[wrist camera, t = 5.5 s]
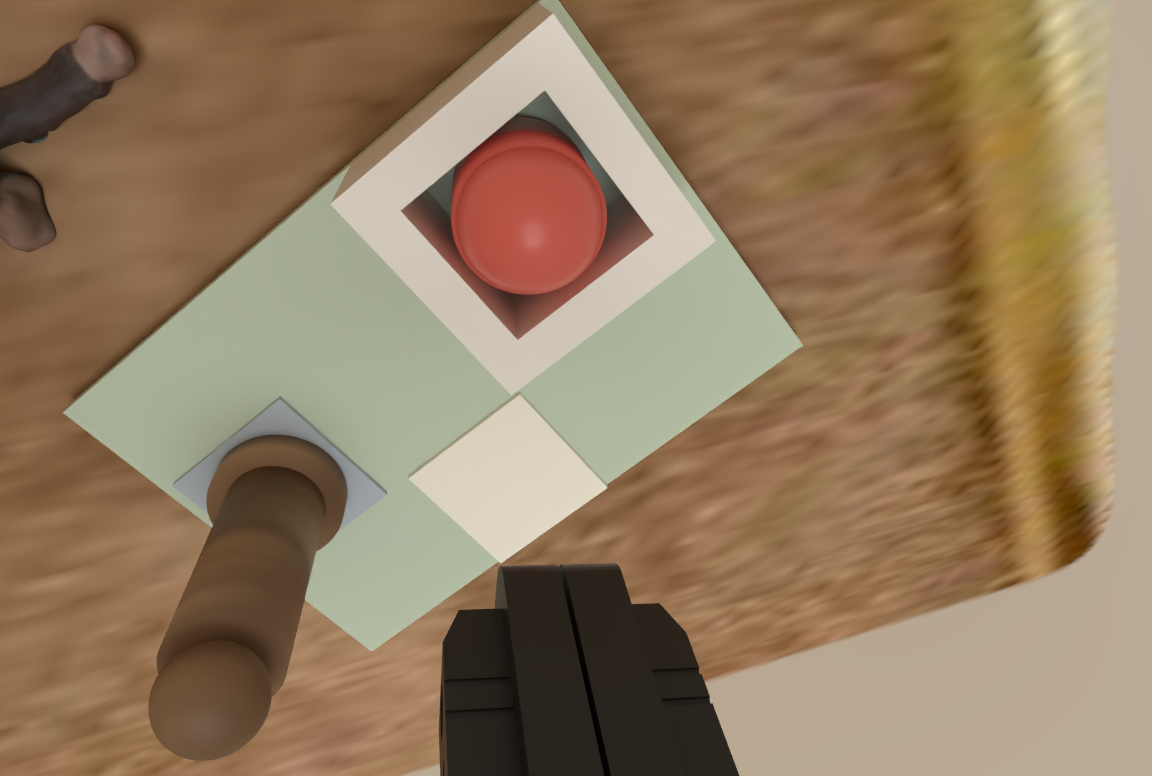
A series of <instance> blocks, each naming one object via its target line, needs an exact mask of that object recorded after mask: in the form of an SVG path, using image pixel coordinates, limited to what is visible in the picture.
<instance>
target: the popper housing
mask: <svg viewBox="0 0 1152 776" xmlns="http://www.w3.org/2000/svg"><path fill="white" fill-rule="evenodd" d="M544 90H545V91H546V92H547V94H548V95H549V96H550V98H551V99H552V100H553V102H554V103H555V104H556V106H557V107H558V108H559V110H560V111H561V112H562V114H563V115H564V116H565V118H566V119H567V120H568V122H569V123H570V124H571V126H572V127H573V128H574V130H575V131H576V132H577V134H578V135H579V136H580V137H581V139H582V140H583V141H584V143H585V144H586V145H587V147H588V148H589V149H590V151H591V152H592V153H593V155H594V156H595V157H596V159H597V160H598V161H599V163H600V164H601V165H602V167H603V168H604V169H605V171H606V172H607V173H608V175H609V176H610V177H611V179H612V180H613V181H614V183H615V184H616V185H617V187H618V188H619V189H620V190H621V192H622V193H623V195H621V196H620V197H619V198H617V199H616V200H615V201H614V202H612V203H611V204H610V205H609V206H607V207H606V209H607V225H606V232H605V237H604V240H603V243H602V246H601V248H600V250H599V252H598V254H597V256H596V258H595V259H594V261H593V262H592V263H591V265H590V266H589V267H588V268H587V269H586V270H585V272H584V273H582V274H581V275H580V276H579V277H578V278H577V279H575V280H574V281H572V282H571V283H569V284H567V285H565V286H564V287H562V288H559V289H557V290H554V291H551V292H547V293H543V294H534V295H521V294H514V293H510V292H506V291H503V290H500V289H498V288H495V287H493V286H491V285H490V284H488V283H486V282H485V281H483V280H482V279H481V278H479V277H478V276H477V275H476V274H475V273H474V272H473V271H472V270H471V269H470V268H469V267H468V265H467V264H466V263H465V262H464V260H463V258H462V257H461V255H460V253H459V251H458V249H457V246H456V244H455V241H454V237H453V233H452V225H451V216H450V215H449V214H448V213H447V212H446V211H445V210H444V208H443V207H442V206H441V205H440V204H439V203H438V202H437V200H436V199H435V198H434V197H433V196H432V195H431V194H430V192H429V191H428V190H427V188H428V187H430V186H431V185H432V184H433V183H434V182H436V181H437V180H438V179H439V178H440V177H442V176H443V175H444V174H445V173H446V172H448V171H449V170H450V169H451V168H452V167H454V166H455V165H456V164H457V163H458V162H459V161H461V160H462V159H463V158H464V157H465V156H467V155H468V154H469V153H470V152H471V151H473V150H474V149H475V148H476V147H477V146H479V145H480V144H481V143H482V142H483V141H485V140H486V139H487V138H488V137H489V136H491V135H492V134H493V133H494V132H495V131H497V130H498V129H499V128H500V127H501V126H503V125H504V124H505V123H506V122H507V121H509V120H510V119H511V118H512V117H513V116H515V115H516V114H517V113H518V112H519V111H521V110H522V109H523V108H524V107H525V106H527V105H528V104H529V103H530V102H531V101H533V100H534V99H535V98H536V97H537V96H539V95H540V94H541V93H542V92H543V91H544ZM330 205H331V206H332V207H333V208H334V209H335V210H336V211H337V212H338V213H339V214H340V215H341V216H342V217H343V218H344V219H345V220H346V221H347V222H348V224H349V225H350V226H351V227H352V228H353V229H354V230H355V231H356V232H357V233H358V234H359V235H360V236H361V237H362V238H363V239H364V240H365V241H366V243H367V244H368V245H369V246H370V247H371V248H372V249H373V250H374V251H375V252H376V253H377V254H378V255H379V256H380V257H381V258H382V259H383V260H384V261H385V263H386V264H387V265H388V266H389V267H390V268H391V269H392V270H393V271H394V272H395V273H396V274H397V275H398V276H399V277H400V278H401V279H402V280H403V282H404V283H405V284H406V285H407V286H408V287H409V288H410V289H411V290H412V291H413V292H414V293H415V294H416V295H417V296H418V297H419V298H420V299H421V301H422V302H423V303H424V304H425V305H426V306H427V307H428V308H429V309H430V310H431V311H432V312H433V313H434V314H435V315H436V316H437V317H438V318H439V320H440V321H441V322H442V323H443V324H444V325H445V326H446V327H447V328H448V329H449V330H450V331H451V332H452V333H453V334H454V335H455V336H456V337H457V339H458V340H459V341H460V342H461V343H462V344H463V345H464V346H465V347H466V348H467V349H468V350H469V351H470V352H471V353H472V354H473V355H474V356H475V358H476V359H477V360H478V361H479V362H480V363H481V364H482V365H483V366H484V367H485V368H486V369H487V370H488V371H489V372H490V373H491V374H492V375H493V377H494V378H495V379H496V380H497V381H498V382H499V383H500V384H501V385H502V386H503V387H504V388H505V389H506V390H507V391H508V392H509V393H510V394H511V396H512V395H513V394H514V393H516V392H517V391H518V390H520V389H521V388H522V387H524V386H525V385H526V384H528V383H529V382H530V381H532V380H533V379H534V378H536V377H537V376H538V375H539V374H541V373H542V372H543V371H545V370H546V369H547V368H549V367H550V366H551V365H553V364H554V363H555V362H557V361H558V360H559V359H561V358H562V357H563V356H565V355H566V354H567V353H569V352H570V351H571V350H573V349H574V348H575V347H577V346H578V345H579V344H581V343H582V342H583V341H585V340H586V339H587V338H588V337H590V336H591V335H592V334H594V333H595V332H596V331H598V330H599V329H600V328H602V327H603V326H604V325H606V324H607V323H608V322H610V321H611V320H612V319H614V318H615V317H616V316H618V315H619V314H620V313H622V312H623V311H624V310H626V309H627V308H628V307H630V306H631V305H632V304H634V303H635V302H636V301H637V300H639V299H640V298H641V297H643V296H644V295H645V294H647V293H648V292H649V291H651V290H652V289H653V288H655V287H656V286H657V285H659V284H660V283H661V282H663V281H664V280H665V279H667V278H668V277H669V276H671V275H672V274H673V273H675V272H676V271H677V270H679V269H680V268H681V267H682V266H684V265H685V264H686V263H688V262H689V261H690V260H692V259H693V258H694V257H696V256H697V255H698V254H700V253H701V252H702V251H704V250H705V249H706V248H708V247H709V246H710V245H712V244H713V243H714V242H716V240H715V238H714V237H713V236H712V234H711V233H710V231H709V230H708V229H707V227H706V226H705V224H704V223H703V222H702V220H701V219H700V217H699V216H698V215H697V213H696V212H695V210H694V209H693V208H692V206H691V205H690V203H689V202H688V201H687V199H686V198H685V196H684V195H683V194H682V192H681V191H680V189H679V188H678V187H677V185H676V184H675V183H674V181H673V180H672V178H671V177H670V176H669V174H668V173H667V171H666V170H665V169H664V167H663V166H662V164H661V163H660V162H659V160H658V159H657V157H656V156H655V155H654V153H653V152H652V150H651V149H650V148H649V146H648V145H647V143H646V142H645V141H644V139H643V138H642V136H641V135H640V134H639V132H638V131H637V130H636V128H635V127H634V125H633V124H632V123H631V121H630V120H629V118H628V117H627V116H626V114H625V113H624V111H623V110H622V109H621V107H620V106H619V104H618V103H617V102H616V100H615V99H614V97H613V96H612V95H611V93H610V92H609V90H608V89H607V88H606V86H605V85H604V83H603V82H602V81H601V79H600V78H599V77H598V75H597V74H596V72H595V71H594V70H593V68H592V67H591V65H590V64H589V63H588V61H587V60H586V58H585V57H584V56H583V54H582V53H581V51H580V50H579V49H578V47H577V46H576V44H575V43H574V42H573V40H572V39H571V37H570V36H569V35H568V33H567V32H566V30H565V29H564V28H563V26H562V25H561V24H560V22H559V21H558V19H557V18H556V17H555V15H554V14H553V13H552V12H550V11H549V10H547V9H546V8H544V7H543V6H541V5H540V4H536V5H535V6H534V7H533V8H532V9H531V10H529V11H528V12H527V13H526V14H525V15H524V16H522V17H521V18H520V19H519V20H518V21H517V22H516V23H514V24H513V25H512V26H511V27H510V28H509V29H507V30H506V31H505V32H504V33H503V34H502V35H500V36H499V37H498V38H497V39H496V40H495V41H493V42H492V43H491V44H490V45H489V46H488V47H487V48H485V49H484V50H483V51H482V52H481V53H480V54H478V55H477V56H476V57H475V58H474V59H473V60H471V61H470V62H469V63H468V64H467V65H466V66H464V67H463V68H462V69H461V70H460V71H459V72H458V73H456V74H455V75H454V76H453V77H452V78H451V79H449V80H448V81H447V82H446V83H445V84H444V85H442V86H441V87H440V88H439V89H438V90H437V91H435V92H434V93H433V94H432V95H431V96H430V97H429V98H427V99H426V100H425V101H424V102H423V103H422V104H420V105H419V106H418V107H417V108H416V109H415V110H413V111H412V112H411V113H410V114H409V115H408V116H406V117H405V118H404V119H403V120H402V121H401V122H400V123H398V124H397V125H396V126H395V127H394V128H393V129H391V130H390V131H389V132H388V133H387V134H386V135H384V136H383V137H382V138H381V139H380V140H379V141H377V142H376V143H375V144H374V145H373V146H372V147H370V148H369V149H368V150H367V151H366V152H365V153H364V154H362V155H361V156H360V157H359V158H358V159H357V160H355V161H354V162H353V163H352V164H351V165H350V167H349V169H348V171H347V173H346V175H345V177H344V179H343V181H342V182H341V184H340V186H339V188H338V190H337V192H336V194H335V196H334V198H333V200H332V201H331V203H330Z"/></svg>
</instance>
